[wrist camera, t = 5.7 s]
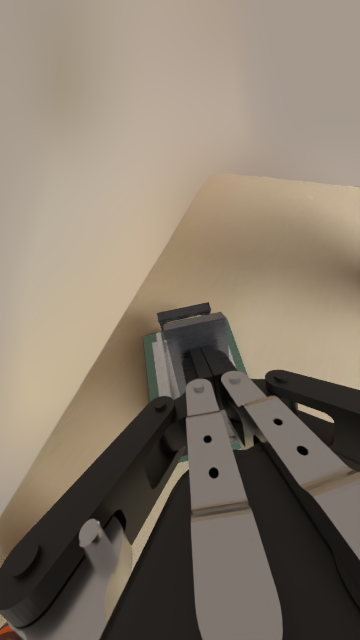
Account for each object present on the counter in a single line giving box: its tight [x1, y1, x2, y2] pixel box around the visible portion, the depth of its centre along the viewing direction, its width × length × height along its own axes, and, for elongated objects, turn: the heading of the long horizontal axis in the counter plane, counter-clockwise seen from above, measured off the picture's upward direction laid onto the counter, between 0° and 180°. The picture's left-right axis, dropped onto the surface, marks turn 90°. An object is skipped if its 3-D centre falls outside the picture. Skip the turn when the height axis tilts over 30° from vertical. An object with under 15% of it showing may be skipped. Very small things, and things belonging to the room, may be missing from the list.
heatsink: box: [143, 302, 248, 463], centre depth 22 cm, size 16×13×8 cm
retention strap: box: [164, 312, 238, 444], centre depth 15 cm, size 1×4×13 cm
